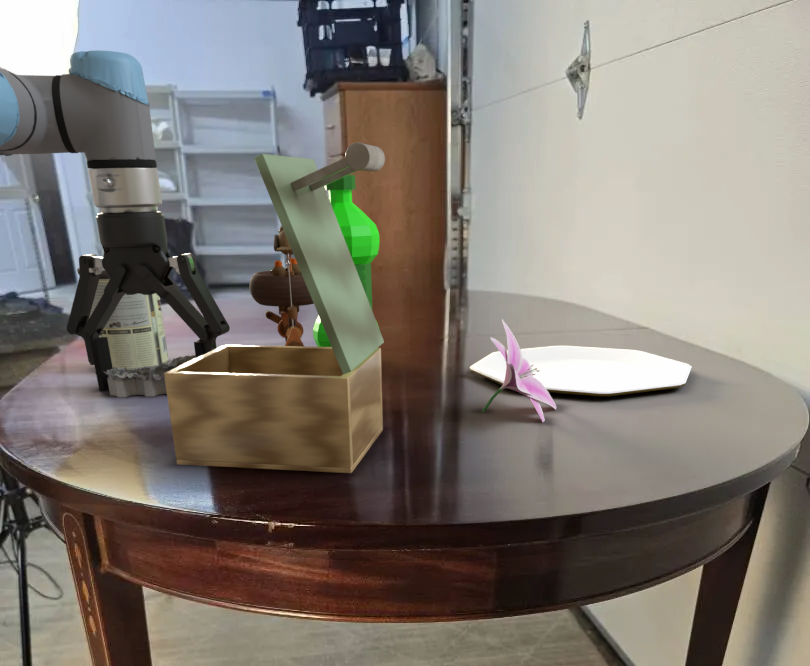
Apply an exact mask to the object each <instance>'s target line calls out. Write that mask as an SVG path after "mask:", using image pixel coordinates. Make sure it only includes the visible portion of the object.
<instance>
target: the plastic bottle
mask: <svg viewBox="0 0 810 666" xmlns="http://www.w3.org/2000/svg"><path fill="white" fill-rule="evenodd" d="M324 188H325V190H326V191H327V192H328V198H329V200H330V203H331V206H332V208H333V211H334V213H335V216H336V219H337V221H338V224H339V226H340V229H341V231H342V234H343V237H344V239H345V242H346V244H347V247H348V250H349V252H350V255H351V257H352V260H353V262H354V265H355V268H356V270H357V273H358V275H359V278H360V281H361V283H362V286H363V288H364V291H365V293H366V296H367V299H368V301H369V304H370V306H371V309H372V310H373V287H372V285H373V284H372V281H373V280H372V262H373V261H374V259H376V257H377V256H378V255H379V250H380V245H381V244H380V233H379V229H378V226H377V224H376V223H375V222H374V221H373V220H372V219H371V218H370V217H369V216H368V215H367V214H366V213H365V212H364V211H363V210H362V209H361V208H360V207H358V206H357V205H356V204H355V203H354V202H353V191H354V190H356V189H357V188H356V174H350V175H347V176H345V177H343V178H341V179H339V180H336V181H334V182H332V183H330V184H328V185H326V186H324ZM376 322H377V323H378V321H377V320H376ZM378 327H379V328H380V326H379V325H378ZM312 336H313V340H314V343H315V344H316V347H331V344H330V342H329V339H328V337H327V334H326V332H325V329H324V327H323V325H322V322H321V320H320V317H319V315H317V317H316V320H315V321H314V324H313V328H312Z"/></svg>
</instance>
